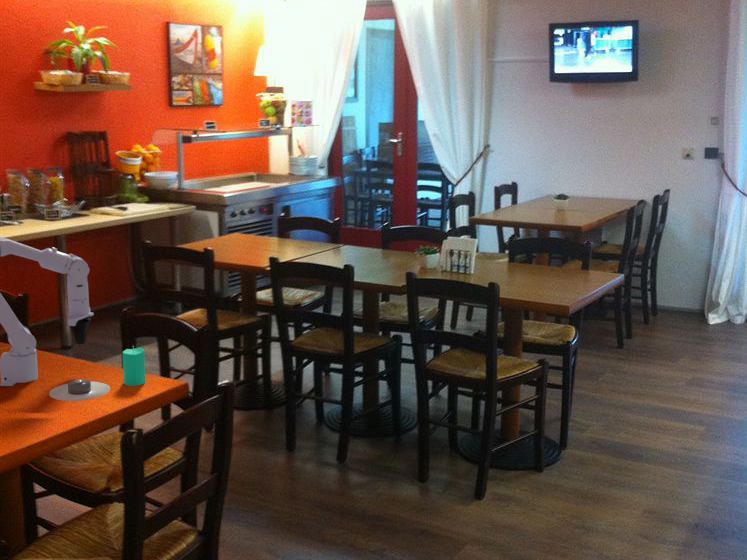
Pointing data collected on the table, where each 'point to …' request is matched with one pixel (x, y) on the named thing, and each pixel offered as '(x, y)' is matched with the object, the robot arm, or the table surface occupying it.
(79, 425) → the table surface
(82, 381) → the cover
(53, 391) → the cream flat disc
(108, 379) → the table surface
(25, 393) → the table surface
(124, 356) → the candle
